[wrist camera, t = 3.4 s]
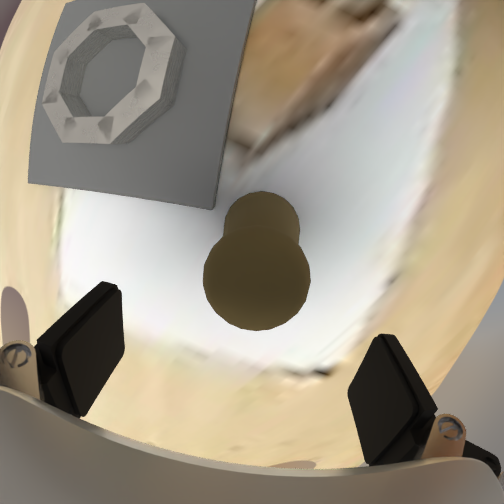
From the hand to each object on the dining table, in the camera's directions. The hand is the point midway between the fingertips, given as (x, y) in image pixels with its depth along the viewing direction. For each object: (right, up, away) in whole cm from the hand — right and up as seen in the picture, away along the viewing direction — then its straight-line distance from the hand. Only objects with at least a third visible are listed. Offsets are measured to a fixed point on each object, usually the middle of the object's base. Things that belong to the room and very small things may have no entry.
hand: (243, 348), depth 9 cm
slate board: (-11, +18, +9) cm, 23 cm away
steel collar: (-11, +18, +9) cm, 23 cm away
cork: (+1, +5, +13) cm, 14 cm away
